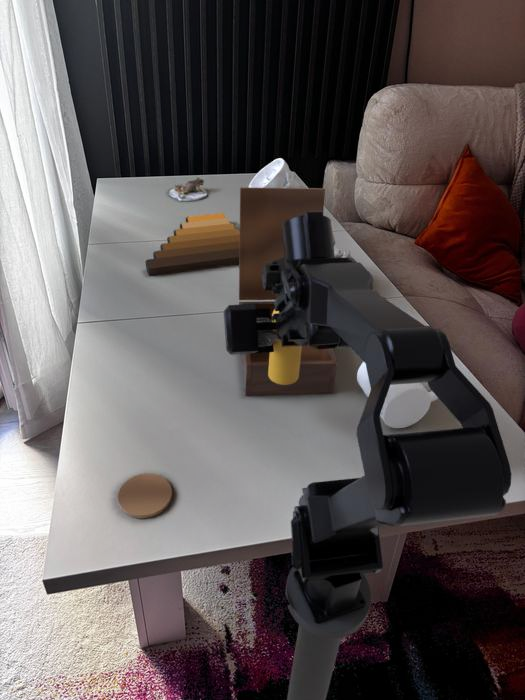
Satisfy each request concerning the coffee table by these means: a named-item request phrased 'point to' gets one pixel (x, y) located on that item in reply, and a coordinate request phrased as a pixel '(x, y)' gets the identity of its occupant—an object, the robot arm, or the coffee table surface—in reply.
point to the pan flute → (197, 246)
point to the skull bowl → (275, 176)
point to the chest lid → (268, 231)
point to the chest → (312, 373)
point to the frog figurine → (189, 191)
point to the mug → (400, 401)
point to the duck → (284, 362)
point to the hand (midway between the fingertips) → (284, 338)
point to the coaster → (145, 495)
